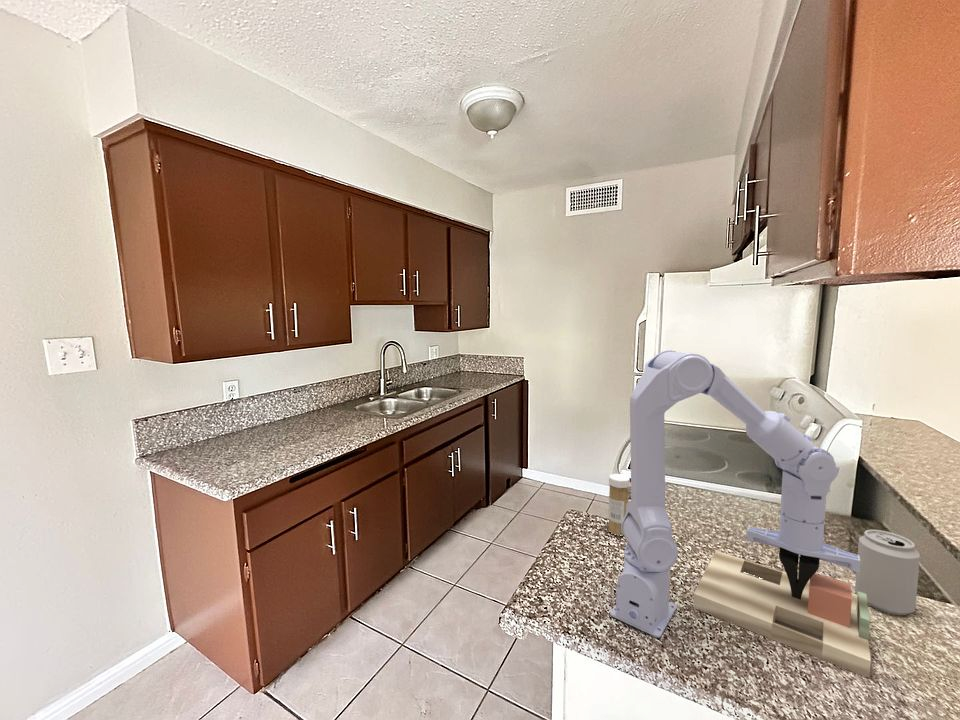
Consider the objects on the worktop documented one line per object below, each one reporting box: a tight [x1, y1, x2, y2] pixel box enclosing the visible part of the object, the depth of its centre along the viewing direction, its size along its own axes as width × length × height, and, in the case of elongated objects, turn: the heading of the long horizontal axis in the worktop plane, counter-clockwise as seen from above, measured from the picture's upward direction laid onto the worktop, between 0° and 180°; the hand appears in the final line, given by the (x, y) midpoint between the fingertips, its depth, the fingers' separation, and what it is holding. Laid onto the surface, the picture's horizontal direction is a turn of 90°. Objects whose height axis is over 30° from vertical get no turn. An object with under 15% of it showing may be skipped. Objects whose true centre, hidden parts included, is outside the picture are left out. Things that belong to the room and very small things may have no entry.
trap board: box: [692, 550, 872, 679], centre depth 70 cm, size 18×22×6 cm
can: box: [854, 529, 921, 616], centre depth 71 cm, size 8×8×12 cm
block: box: [808, 573, 852, 628], centre depth 66 cm, size 5×5×4 cm
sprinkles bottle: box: [607, 473, 631, 535], centre depth 96 cm, size 5×5×14 cm
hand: (796, 595), depth 68 cm, fingers closed
